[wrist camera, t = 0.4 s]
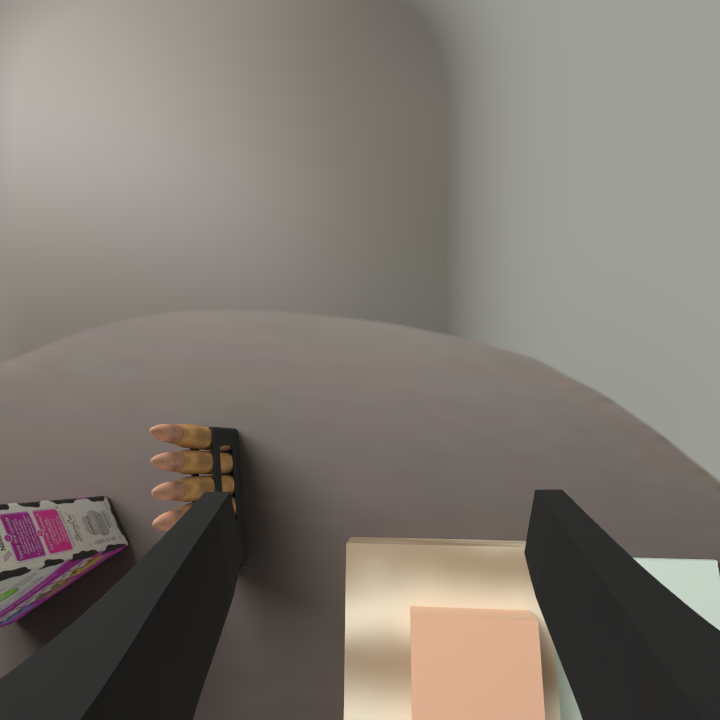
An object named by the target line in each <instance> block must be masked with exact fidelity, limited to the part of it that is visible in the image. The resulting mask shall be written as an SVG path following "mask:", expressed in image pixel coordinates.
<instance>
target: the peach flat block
mask: <svg viewBox="0 0 720 720" xmlns="http://www.w3.org/2000/svg"><path fill="white" fill-rule="evenodd" d="M410 637H411V703H412V720H545V708H544V695H543V681H542V667H541V653H540V640H539V626H538V620H537V619H536V618H535V617H534V615H533V614H532V613H531V612H530V611H529V610H508V609H480V608H452V607H424V606H410Z"/></svg>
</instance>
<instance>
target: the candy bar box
mask: <svg viewBox="0 0 720 720" xmlns="http://www.w3.org/2000/svg"><path fill="white" fill-rule="evenodd" d="M126 546H128V541H127V539H126V537H125V534H124V532H123V530H122V529H121V527H120V525H119V522H118V520H117V518H116V515H115V514H114V511H113V509H112V506H111V504H110V503H109V501H108V499H107V497H106V496H98V497H87V498H75V499H64V500H53V501H39V502H29V503H11V504H1V505H0V627H3V626H5V625H8V624H11V623H13V622H16V621H17V620H19V619H20V618H22V617H23V616H25V615H26V614H28V613H29V612H30V611H32V610H33V609H35V608H36V607H38V606H39V605H41V604H42V603H44V602H45V601H47V600H48V599H50V598H51V597H52V596H54V595H55V594H57V593H58V592H60V591H61V590H63V589H64V588H66V587H67V586H68V585H70V584H71V583H73V582H74V581H76V580H77V579H79V578H80V577H82V576H83V575H85V574H86V573H88V572H89V571H91V570H92V569H94V568H95V567H97V566H98V565H100V564H101V563H103V562H104V561H105V560H107V559H108V558H110V557H111V556H113V555H114V554H116V553H117V552H119V551H120V550H122V549H123V548H125V547H126Z"/></svg>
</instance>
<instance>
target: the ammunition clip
mask: <svg viewBox="0 0 720 720" xmlns="http://www.w3.org/2000/svg"><path fill="white" fill-rule="evenodd" d="M150 433H151V435H152V436H154V437H155V438H156V439H159V440H161V441H164V442H168V443H172V444H176V445H178V446H180V447H183V448H190V450H184V451H181V452H166V453H162V454H159V455H156V456H154V457H153V458H152V459H151V464H152V465H153V466H154V467H156V468H158V469H161V470H165V471H173V472H180V473H182V474H191V477H185V478H182V479H180V480H175V481H169V482H165V483H162V484H160V485H158V486H157V487H155V488H154V489H153V490H152V492H151V493H152V495H153V496H154V497H156V498H158V499H160V500H169V501H173V500H181V501H185V502H190V501H192V503H190V504H186V505H184V506H182V507H181V508H178V509H175V510H171V511H168V512H166V513H163V514H162V515H160V516H159V517H157V518H156V519H155V520H154V522H153V524H152V525H153V527H154V528H156V529H158V530H164V531H169V530H170V529H171V528H172V527H173V526H174V524H175V523H176V522H177V521H178V520H179V519H180V518H181V517H182V516H183V515H184V514H185V513H186V512H187V510H188V509H189V508H190V507H191V506H192V505H193V504H194V503H195V502H196V501H197V500H198V499H199V498H200V497H201V496H202V495H203V494H204V493H205V492H231V497H232V502H233V507H234V512H235V517H236V523H237V528H238V533H239V538H240V543H241V548H242V558H241V563H240V566H241V565H244V564H245V563H246V549H245V535H244V522H243V508H242V495H241V482H240V468H239V455H238V441H237V430H236V429H231V428H220V427H209V428H208V427H203V426H197V425H192V424H181V425H178V424H160V425H156V426H154V427H152V428H151V429H150ZM200 449H202V450H210V451H199V450H200ZM199 474H212V475H210V476H199Z"/></svg>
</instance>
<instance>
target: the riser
mask: <svg viewBox="0 0 720 720" xmlns="http://www.w3.org/2000/svg"><path fill="white" fill-rule="evenodd" d="M525 545H526V541H508V540H463V539H418V538H373V537H351V538H350V539H349V540H348V542H347V543H346V604H345V676H344V720H412V703H411V637H410V606H424V607H452V608H480V609H508V610H529V611H530V612H531V613H532V614H533V615H534V617H535V618H536V619H537V620H538V626H539V640H540V653H541V667H542V681H543V695H544V708H545V720H561V719H560V707H559V694H558V681H557V669H556V656H555V646H554V644H553V641H552V639H551V636H550V633H549V631H548V628H547V626H546V623H545V620H544V618H543V615H542V613H541V610H540V607H539V605H538V602H537V599H536V596H535V593H534V589H533V586H532V582H531V578H530V574H529V570H528V566H527V562H526V558H525V554H524V551H525Z"/></svg>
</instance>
